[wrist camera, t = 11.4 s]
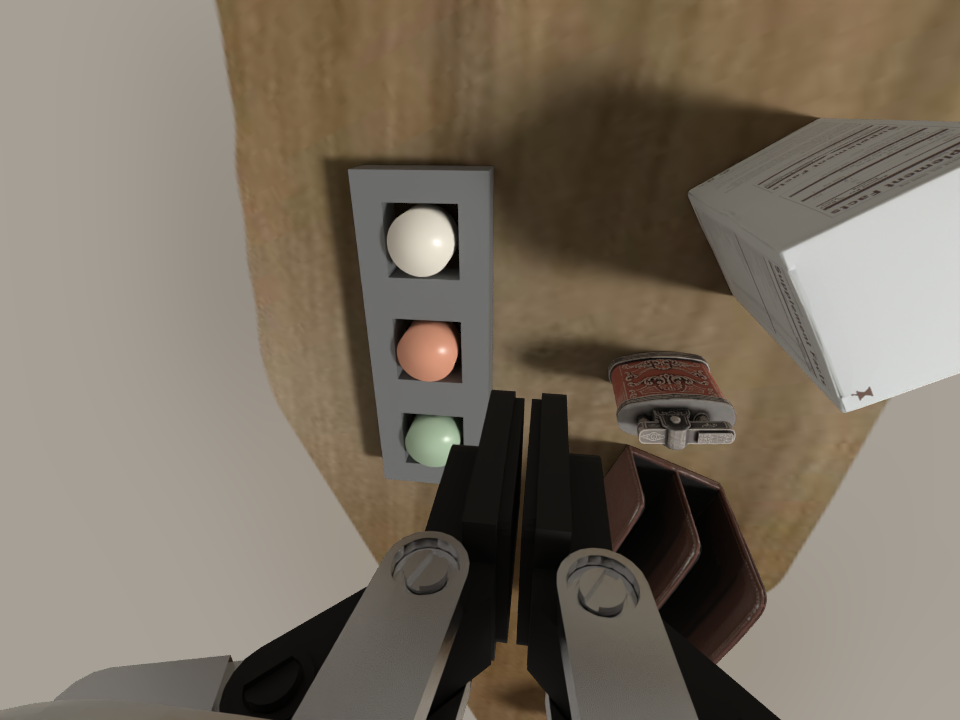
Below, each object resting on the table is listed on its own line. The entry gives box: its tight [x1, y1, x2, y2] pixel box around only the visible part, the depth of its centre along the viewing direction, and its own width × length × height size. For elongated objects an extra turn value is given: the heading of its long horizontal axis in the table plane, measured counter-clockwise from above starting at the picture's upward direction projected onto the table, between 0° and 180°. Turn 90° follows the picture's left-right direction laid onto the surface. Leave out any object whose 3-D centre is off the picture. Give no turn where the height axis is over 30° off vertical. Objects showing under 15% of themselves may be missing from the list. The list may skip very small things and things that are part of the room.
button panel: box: [348, 165, 494, 484], centre depth 42 cm, size 28×10×3 cm, turn 0°
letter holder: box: [604, 445, 767, 664], centre depth 44 cm, size 10×20×14 cm, turn 158°
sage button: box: [405, 414, 463, 467], centre depth 45 cm, size 5×5×3 cm
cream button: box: [387, 203, 459, 277], centre depth 37 cm, size 5×5×3 cm
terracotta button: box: [397, 320, 461, 382], centre depth 41 cm, size 5×5×3 cm
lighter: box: [608, 352, 736, 450], centre depth 37 cm, size 8×3×10 cm, turn 96°
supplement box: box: [688, 118, 960, 413], centre depth 27 cm, size 10×9×17 cm
